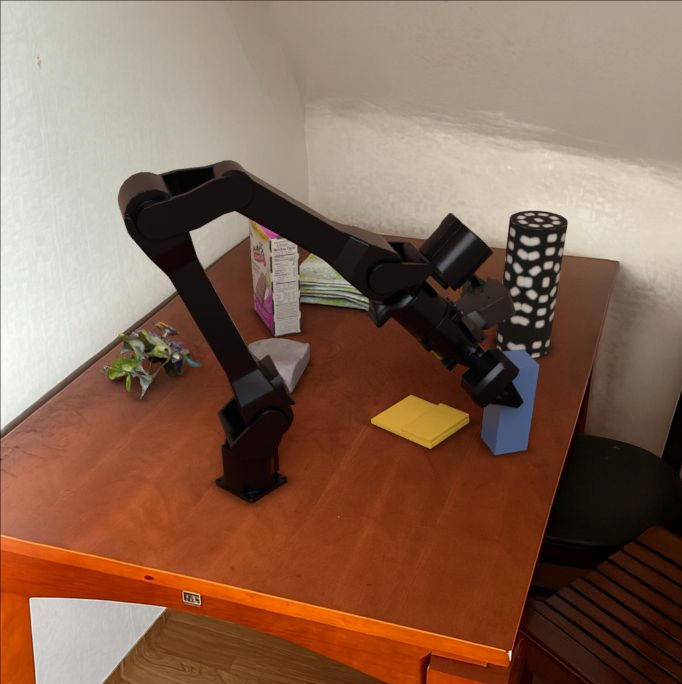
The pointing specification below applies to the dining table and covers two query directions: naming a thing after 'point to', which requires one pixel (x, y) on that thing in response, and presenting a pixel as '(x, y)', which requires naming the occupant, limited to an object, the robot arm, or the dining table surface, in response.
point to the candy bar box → (275, 280)
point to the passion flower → (150, 356)
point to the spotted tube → (532, 280)
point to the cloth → (421, 421)
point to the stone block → (284, 357)
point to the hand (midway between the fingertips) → (504, 387)
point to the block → (512, 410)
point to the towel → (327, 286)
